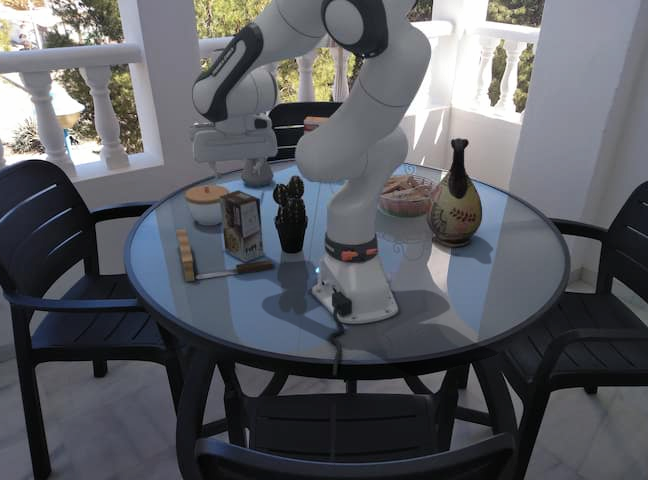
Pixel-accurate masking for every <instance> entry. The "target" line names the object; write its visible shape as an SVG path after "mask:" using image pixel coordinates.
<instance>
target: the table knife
mask: <svg viewBox="0 0 648 480" xmlns="http://www.w3.org/2000/svg"><path fill="white" fill-rule="evenodd" d="M273 263H274V262H273V261H272V259H266V260H258V261H252V262H244V263H239V264H235V269H229V270H223V271H217V272H215V271H214V272H209V273H202V274H198V275H196V276H195V280H198V281H201V280H208V279H214V278H221V277H228V276H234V275H241V274H247V273H255V272H260V271H268V270H274V264H273Z"/></svg>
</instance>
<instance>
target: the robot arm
mask: <svg viewBox="0 0 648 480" xmlns="http://www.w3.org/2000/svg"><path fill="white" fill-rule="evenodd" d="M419 2H420V0H271V1H270V2H268V4H267V5H266V6H265V7H264V8H263V10H261V11H260V13H258V14H257V15H256V16H255V17H254V18H253V19H252V20H251V21H250V22H248V23H247V24H245V26H243V27H242V28H240V30H238V32H237V33H235V35H234V36H233V38H232V39H231V40H230V41H229V42H228V44H227V45H226V46H225V47H224V48H223V47H222V48H216V49H213V50H212V52H211V53H210V58H209V60H210V61H209V68H208V69H207V70H205V71H201V73H199V74H198V76H197V77H196V79H195V81H194V83H193V86H192V89H191V96H192V97H191V98H192V103H193V106H194V109H195V110H196V111H197V113H198V114H199V115H200V116H202V117H203V118H204V119H206V120H207V121H205V122H201V121H198V122H194V124H192V125H190V126H189V129H188V136H189V139H190V141H191V142H192V158H193V160H194V161H195V162H196V163H198V164H205V163H208V164H209V167H210V168H211V170H212V171H213V172H214V178H215V180H219V179H222V178H223V176H222V170H221V169H217V168H216V166H217V164H216V163H217V162H227V161H239V160H241V159H242V160H246V159H252V158H257V160H258V162H257V164H256V166H254V167H253V174H254V175H260V168H261V166H262V164H263V162H264V157H265V158H274V157H276V156H277V154H278V151H279V149H278V141H277V136H276V133H275V131H274V129H273V127H272V126H273V122H272V119H271V117H269V116H268V115H267V114H266V113H267V112H269V111H272V109H274V107H275V106H276V103H277V101H278V95H279V93H278V91H279V90H278V84H277V81H276V78H275V77H274V75H273V74H272V73H271V72H270V71H269V70H268V69H266V68H263V66H266V65H269V64H272V63H277V62H282V61H287V60H291V59H295V58H299V57H303V56H305V55H307V54H308V53H310V52H311V51H313V50H314V49H315V48H316V47H318V46H319V45H320V44H321V43H322V42H323V40H324V39H325V38H326V37H327V35H328V36H329V37H330V38H331V39H332V40H333V41H334V42H335V43H336V44H337V45H338V46H339V47H340V48H342V49H343V50H345V51H347V52H349V53H351V54H352V55H353V56H355V58H358V59H364V61H363V63H362V64H361V67H360V69H359V71H358V74H357V76H356V79H355V81H354V83H353V85H352V87H351V89H350V91H349V93H348V95H347V97H346V98H345V100H344V102H343V103H342V104H341V105H340V106H339V107H338V108H337V110H335V112H334V113H332V114H331V115H330V116H329V117H327V118H328V119H327V120H326V121H325V122H324V123H323V124H322V125H320V126H319V127H318V128H316V129H315V130H313V131H311V132H310V133H308V134H306V135H304V134H303V135H302V136H301V137H300V138H299V139H298V141H297V143H296V146H295V152H294V161H295V165H296V167H297V170H298V172H299V173H300V174H301V176H302V177H303V178H304V179H305V180H307V181H308V182H310V183H327V184H328V183H329V184H330V183H337V182H341V181H344V183H343V184H342V185H341V187H340V188H339V189H337V190H336V191H335V192H334V193H333V194H332V195H331V196H330V197H329V199H328V201H327V205H326V231H325V233H324V253H323V254H322V255H321V257H320V259H319V260H318V267H317V268H316V269H315V272H316V273H317V284H315V285H313V287H312V288H311V294H312V295H313V296H314V297H315V298H316V299H317V301H319V302H320V303H321V304H322V305H323V306H324V307H325V308H326V309H327V310H328V311H329V312H330V313H331V315H332V317H333V320H334V322H335V323H336V324H337V326H338V327H339V330H338V331H335V332H332V333H331V335H330V336H329V340H330V341H331V343H333V344H334V345H335V347H336V354H335V357H334V360H333V365H332V366H333V367H332V376H337V375H338V369H339V368H338V366H339V362H340V357H341V354H342V347H341V343H340V342H339V341H338V340H337V339H336V337H338V336H340V335H342V334H343V332H344V331H345V326H344V324H351V325H359V324H361V325H362V324H368V323H374V322H378V321H383V320H387V319H389V318H391V317H393V316H395V315H396V314H398V313H399V307H398V304H397V302H396V300H395V296H394V295H393V292H392V290H391V287H390V285H389V284H391V283H392V277H393V276H392V274H391V273H390V272H387V273H386V272H385V269H384V267H385V261H384V260H381V257H380V253H379V242H378V241H379V240H378V238H377V237H378V235H377V233H376V225H377V216H378V215H377V214H378V207H379V202H380V199H381V197H382V193H383V191H384V189H385V187H386V186H387V183H388V182H389V180H390V179H391V177H392V176H393V174H394V173H395V172H396V171H397V170H398V169H399V168H400V167H402V165H404V162H405V161H406V159H407V157H408V153H409V141H408V137H407V134H406V133H405V131H404V130H403V128H402V127H401V126H400V124H401V122H402V120H403V118H404V117H405V115H406V114H407V112H408V111H409V109H410V107H411V105H412V103H413V101H415V98H416V96H417V94H418V92H419V91H420V88H421V86H422V84H423V82H424V79H425V77H426V74H427V71H428V69H429V65H430V63H431V59H432V45H431V42H430V40H429V38H428V37H427V36H426V34H425V33H424V31H422V30H421V29H419V28H418V27H416V26H414V25H413V24H412V23H411V21H410V19H409V16H407V15H408V14H409V13H410V12H411V11H413V10H414V9H415V8H416V6H417V5H418V4H419ZM343 323H344V324H343ZM336 404H337V402H332V403H331V404H330V406H331V407H330V408H331V409H330V411H331V412H330V457H329V458H330V461H329V462H330V463H334V464H335V459H336V458H335V452H336V449H335V447H336V445H335V444H336V410H337V409H336V408H337V406H336Z"/></svg>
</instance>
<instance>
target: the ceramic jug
mask: <svg viewBox="0 0 648 480" xmlns="http://www.w3.org/2000/svg"><path fill="white" fill-rule="evenodd" d="M469 144H470V142H469V140H468V139H467V138H459V137H458V138H455V139H454V138H453V139H451V140H450V146H451V148H452V150H453V152H452V163H451V166H450V169H449V170H448V171H447V173H446V174H445V175H444V177H443V178H442V179H441V180H439V182H438V183H437V185H436V187H434V189H433V192H431V194H430V197H429V199H428V203H427V205H426V210H425V218H426V223H427V226H428V227H429V229H430V230H431V231H432V233H433V234H434V236H435V239H436V241H437V242H438V243H440V244H442V245H444V246H447V247H450V248H454V247H462V246H464V245H465V246H466V245H467V244H468V243H469V241H470V238H471V237H472V236H474V235H475V234H476V233H477V232H478V230H479V228H480V226H481V224H482V221H483V205H482V201H481V196H480V194H479V192H478V190H477V188H476V186H475V184H474V183H473V181H472V179H471V177H470V176H469V174H468V172H467V171H466V167H465V149H467V147H468V146H469Z"/></svg>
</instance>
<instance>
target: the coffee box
mask: <svg viewBox="0 0 648 480" xmlns="http://www.w3.org/2000/svg"><path fill="white" fill-rule="evenodd" d="M219 199H220V208H221V217H222V222H221V225H222V233H223V241H224V251H225V253H227V254H229V255H230V256H232V257H234V258H236V259H238V260H240V261H242V262H244V263H249V262H250V261H252V260H255V259H257V258H260V257H262V256H264V246H263V245H264V243H263V230H262V229H263V228H262V216H261V201H260V200H261V199H260V198H259V197H256V196H254V195H252V194H249V193H246V192H243V191H241V190H235V191H234V190H233V191H232V192H229V194H226V195H223V196H220V197H219Z"/></svg>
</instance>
